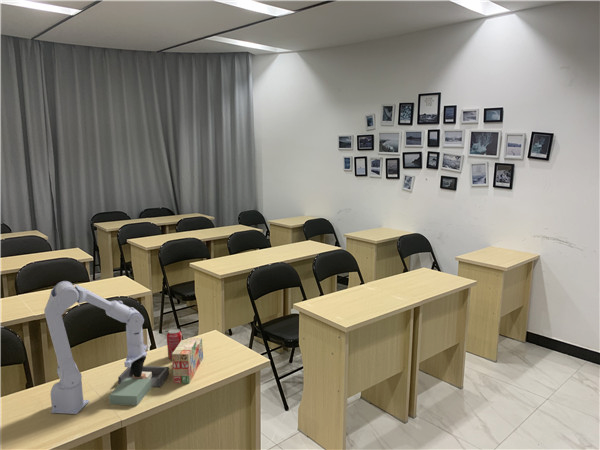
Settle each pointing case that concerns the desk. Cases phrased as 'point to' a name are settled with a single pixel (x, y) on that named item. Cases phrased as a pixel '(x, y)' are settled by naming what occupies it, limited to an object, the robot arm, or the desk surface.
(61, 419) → the desk surface
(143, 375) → the terracotta tile
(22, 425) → the desk surface
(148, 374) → the cream tile
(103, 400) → the desk surface
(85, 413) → the desk surface
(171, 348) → the beverage can
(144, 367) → the tray
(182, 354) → the stack of blocks
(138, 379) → the sage green slab
